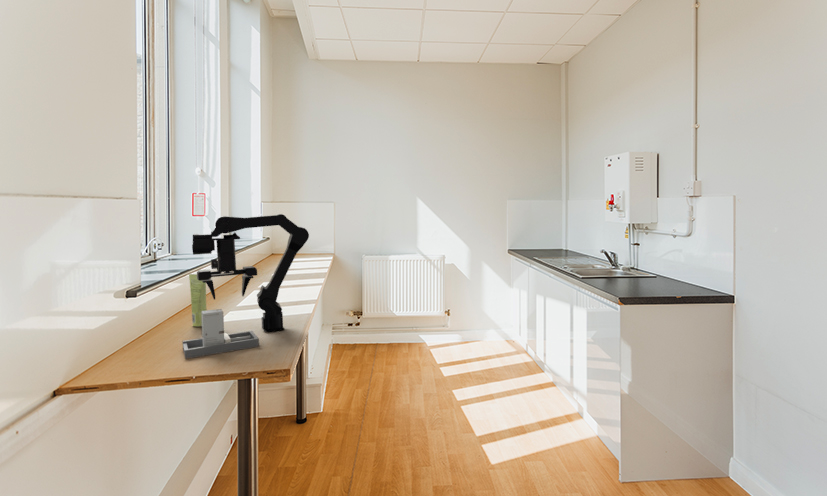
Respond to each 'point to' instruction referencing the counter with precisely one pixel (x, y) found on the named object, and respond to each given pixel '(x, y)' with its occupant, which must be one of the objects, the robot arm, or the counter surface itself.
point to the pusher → (227, 338)
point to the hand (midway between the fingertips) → (228, 297)
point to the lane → (219, 345)
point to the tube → (197, 299)
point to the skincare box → (212, 327)
